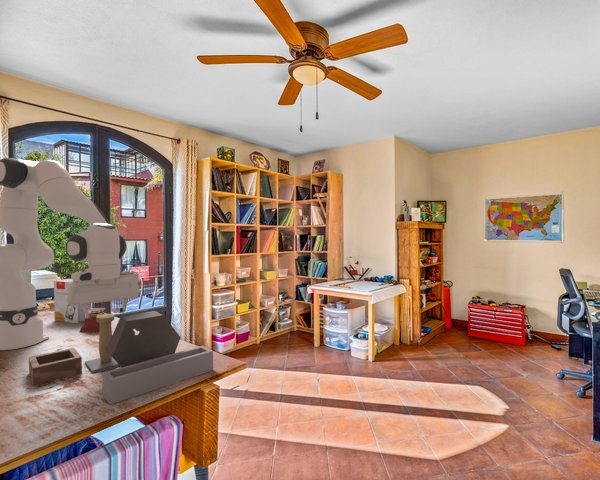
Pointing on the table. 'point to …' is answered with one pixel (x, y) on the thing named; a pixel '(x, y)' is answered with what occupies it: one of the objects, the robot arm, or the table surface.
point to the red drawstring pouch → (92, 321)
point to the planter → (142, 338)
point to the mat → (100, 365)
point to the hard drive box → (66, 304)
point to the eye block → (54, 366)
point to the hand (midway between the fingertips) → (105, 315)
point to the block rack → (155, 373)
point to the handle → (105, 335)
